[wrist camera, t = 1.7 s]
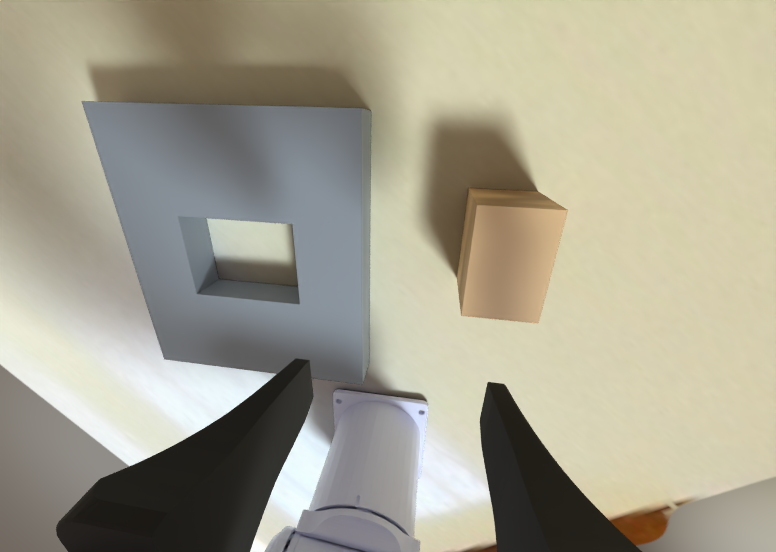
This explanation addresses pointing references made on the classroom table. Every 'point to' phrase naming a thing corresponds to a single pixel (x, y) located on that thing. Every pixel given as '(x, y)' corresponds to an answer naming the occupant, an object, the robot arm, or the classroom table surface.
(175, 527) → the robot arm
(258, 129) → the keyed pocket board
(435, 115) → the classroom table surface
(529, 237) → the oak key block
